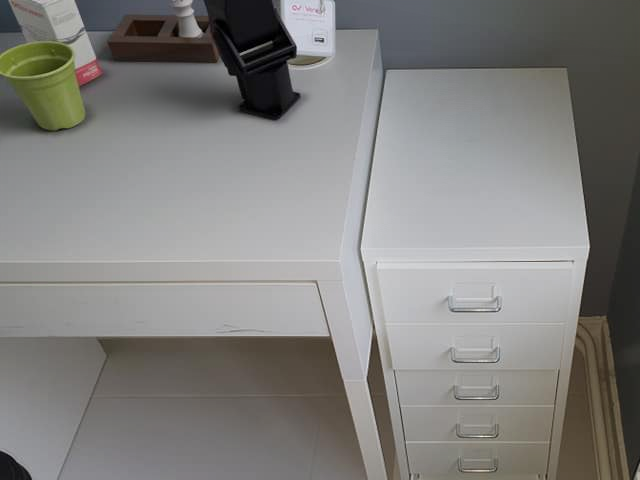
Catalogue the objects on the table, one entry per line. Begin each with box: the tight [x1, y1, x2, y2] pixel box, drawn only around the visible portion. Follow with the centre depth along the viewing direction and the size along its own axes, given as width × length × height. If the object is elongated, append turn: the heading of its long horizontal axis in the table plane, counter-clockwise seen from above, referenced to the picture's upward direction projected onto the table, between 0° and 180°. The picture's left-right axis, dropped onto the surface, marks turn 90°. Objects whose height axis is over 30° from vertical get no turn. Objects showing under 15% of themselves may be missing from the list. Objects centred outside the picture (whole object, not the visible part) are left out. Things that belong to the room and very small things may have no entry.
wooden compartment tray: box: [106, 13, 221, 64], centre depth 111 cm, size 9×15×3 cm, turn 90°
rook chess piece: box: [169, 0, 205, 38], centre depth 110 cm, size 4×4×8 cm
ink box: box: [8, 0, 103, 88], centre depth 103 cm, size 9×5×12 cm, turn 58°
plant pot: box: [0, 41, 86, 131], centre depth 96 cm, size 9×9×9 cm
